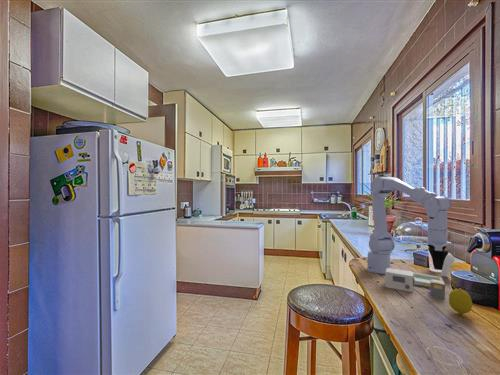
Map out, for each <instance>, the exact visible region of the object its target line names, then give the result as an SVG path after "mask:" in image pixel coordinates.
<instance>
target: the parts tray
mask: <svg viewBox="0 0 500 375" xmlns="http://www.w3.org/2000/svg"><path fill="white" fill-rule="evenodd" d="M413 275H414V278H415V284H414V286H418V287H424V288H429V289H430V279H434V280H440V281H444V280H443V277H442V276H435V275H430V274H425V273H424V274H423V273H418V272H413Z"/></svg>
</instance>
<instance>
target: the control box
mask: <svg viewBox="0 0 500 375" xmlns="http://www.w3.org/2000/svg"><path fill="white" fill-rule="evenodd" d="M413 273H414V272H413V271H411V270H410V271H409V270H404V269H397V268H391V267H390V268H387V269H386V275H385V288H390V289H395V290H397V291H398V290H399V291H403V292H409V293H414V287H415V285H414V284H415V278H414V275H413Z"/></svg>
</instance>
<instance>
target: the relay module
mask: <svg viewBox="0 0 500 375" xmlns="http://www.w3.org/2000/svg"><path fill="white" fill-rule="evenodd" d="M429 289H430V290H429V291H430V297H434V298H438V299H439V298H440V299H444V300H446V284H445V280H443V281H440V280H434V279H430V288H429Z"/></svg>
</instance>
